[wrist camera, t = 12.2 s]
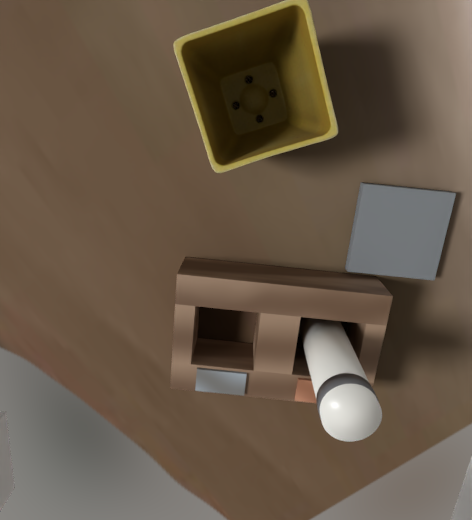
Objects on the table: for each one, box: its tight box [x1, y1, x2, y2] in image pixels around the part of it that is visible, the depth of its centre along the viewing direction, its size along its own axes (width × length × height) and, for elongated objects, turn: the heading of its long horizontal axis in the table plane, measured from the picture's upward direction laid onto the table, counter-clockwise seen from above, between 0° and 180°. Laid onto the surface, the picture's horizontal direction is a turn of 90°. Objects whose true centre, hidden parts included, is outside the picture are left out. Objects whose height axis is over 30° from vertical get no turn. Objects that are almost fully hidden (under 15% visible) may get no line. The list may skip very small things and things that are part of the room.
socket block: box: [170, 257, 393, 403], centre depth 39 cm, size 11×18×5 cm, turn 84°
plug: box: [299, 317, 382, 441], centre depth 35 cm, size 4×4×14 cm
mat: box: [345, 182, 456, 280], centre depth 38 cm, size 8×8×1 cm
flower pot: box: [173, 0, 338, 173], centre depth 32 cm, size 9×9×9 cm
